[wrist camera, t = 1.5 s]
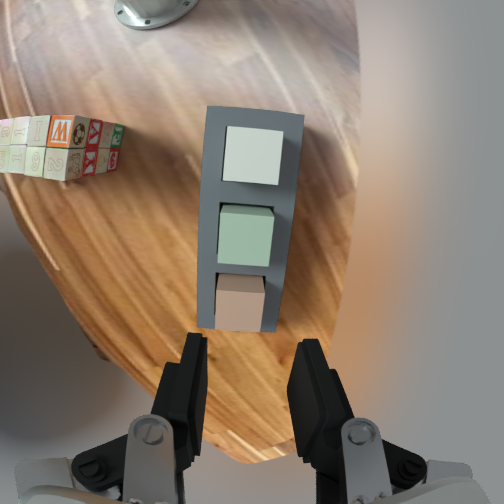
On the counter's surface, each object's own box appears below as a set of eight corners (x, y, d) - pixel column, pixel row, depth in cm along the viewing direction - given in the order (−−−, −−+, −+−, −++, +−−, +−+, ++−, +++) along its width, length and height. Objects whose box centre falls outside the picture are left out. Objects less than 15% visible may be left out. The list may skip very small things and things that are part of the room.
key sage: (223, 203, 30) (220, 212, 25) (269, 207, 30) (274, 216, 25) (221, 246, 31) (217, 262, 27) (264, 249, 32) (268, 266, 27)
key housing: (212, 113, 29) (206, 104, 24) (295, 121, 30) (305, 114, 25) (201, 307, 38) (196, 330, 33) (271, 312, 39) (276, 335, 33)
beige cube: (219, 270, 32) (216, 290, 28) (261, 273, 33) (265, 293, 28) (218, 306, 34) (214, 329, 29) (257, 309, 34) (259, 332, 30)
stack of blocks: (15, 159, 29) (-38, 169, 17) (21, 121, 27) (-33, 122, 15) (117, 171, 31) (63, 182, 20) (126, 124, 29) (74, 114, 18)
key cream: (229, 131, 27) (227, 126, 22) (276, 135, 27) (283, 131, 23) (225, 176, 29) (222, 180, 24) (272, 180, 29) (277, 185, 24)
